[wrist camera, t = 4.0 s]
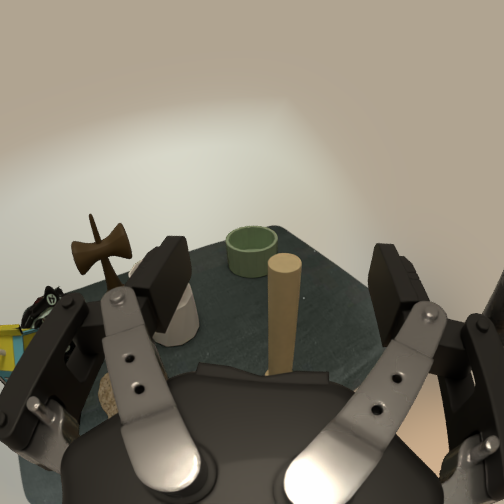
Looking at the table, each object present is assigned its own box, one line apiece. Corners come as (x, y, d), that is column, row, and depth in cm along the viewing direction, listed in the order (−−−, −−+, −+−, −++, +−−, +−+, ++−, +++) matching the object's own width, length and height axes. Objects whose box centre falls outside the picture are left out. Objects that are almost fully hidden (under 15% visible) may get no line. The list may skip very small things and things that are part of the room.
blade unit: (295, 365, 38) (306, 245, 28) (300, 394, 34) (318, 277, 23) (260, 368, 38) (255, 248, 28) (262, 398, 34) (258, 281, 23)
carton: (41, 426, 27) (-36, 347, 17) (49, 385, 33) (-13, 302, 23) (79, 430, 28) (0, 348, 18) (85, 386, 34) (24, 298, 24)
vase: (143, 321, 47) (122, 266, 40) (186, 302, 51) (173, 246, 44) (161, 355, 40) (137, 298, 34) (209, 332, 45) (197, 272, 38)
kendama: (152, 312, 49) (121, 210, 38) (105, 331, 44) (61, 231, 33) (144, 294, 53) (116, 198, 42) (100, 311, 49) (62, 217, 38)
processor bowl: (282, 252, 63) (282, 228, 60) (270, 281, 55) (270, 255, 52) (238, 247, 66) (236, 223, 62) (220, 273, 58) (217, 248, 54)
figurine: (32, 341, 41) (29, 382, 30) (24, 267, 39) (13, 292, 28) (79, 340, 47) (87, 380, 37) (75, 268, 45) (80, 293, 34)
